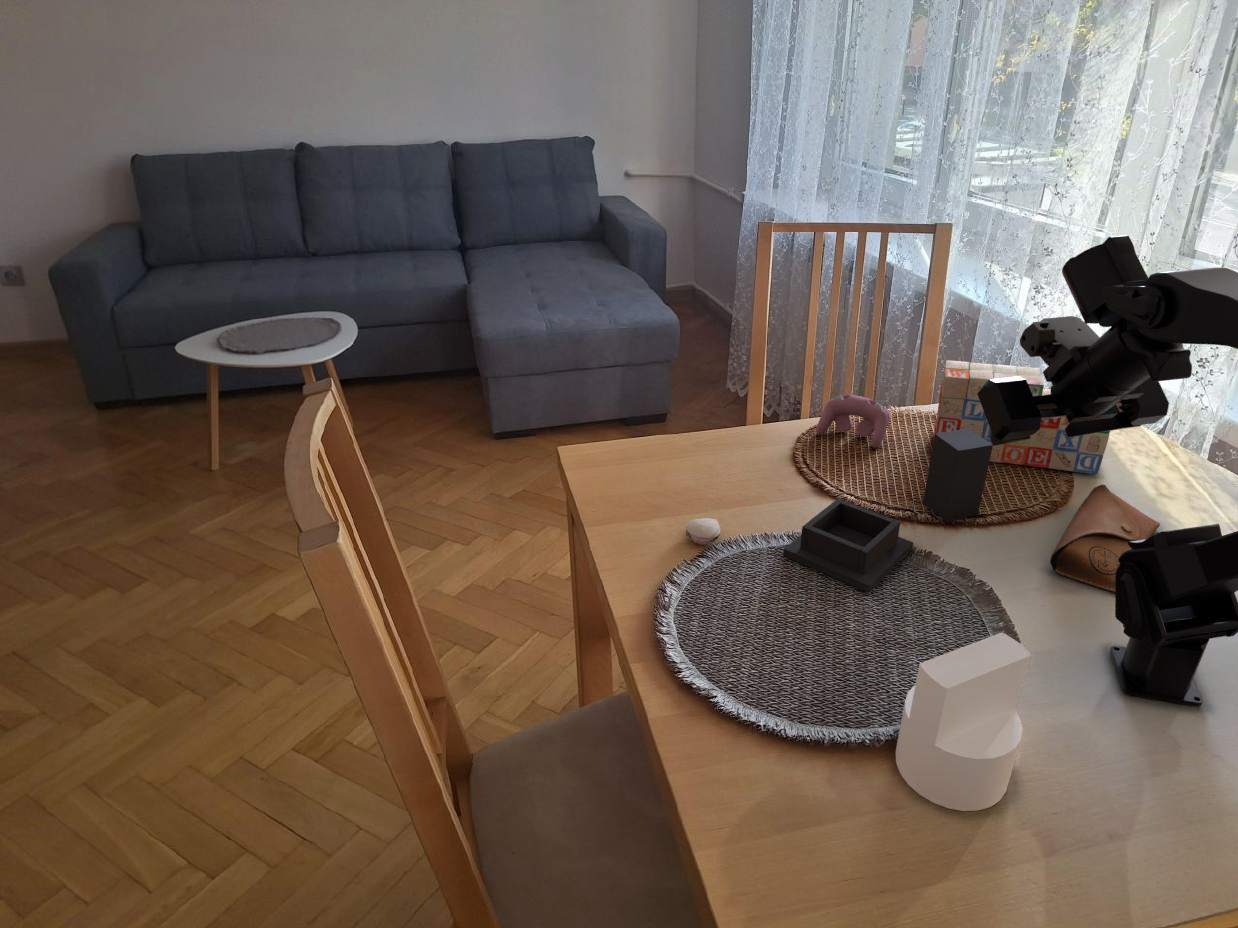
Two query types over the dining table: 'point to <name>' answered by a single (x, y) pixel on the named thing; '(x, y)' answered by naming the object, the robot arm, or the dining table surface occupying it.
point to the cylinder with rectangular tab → (964, 724)
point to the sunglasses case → (1099, 539)
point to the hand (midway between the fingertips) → (1030, 437)
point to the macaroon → (703, 530)
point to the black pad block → (957, 474)
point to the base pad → (850, 544)
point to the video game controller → (857, 406)
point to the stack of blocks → (1040, 450)
